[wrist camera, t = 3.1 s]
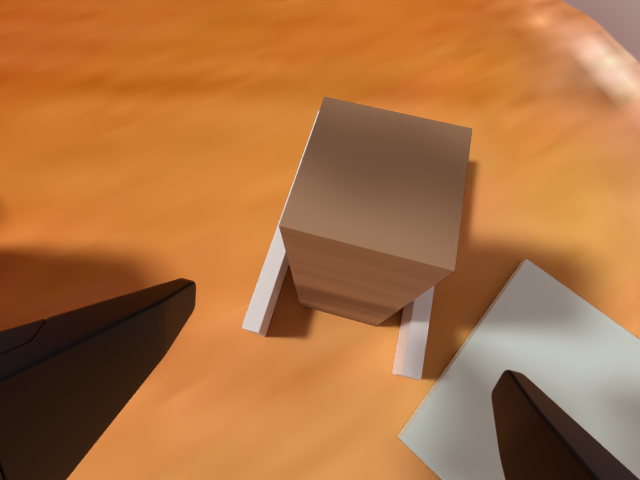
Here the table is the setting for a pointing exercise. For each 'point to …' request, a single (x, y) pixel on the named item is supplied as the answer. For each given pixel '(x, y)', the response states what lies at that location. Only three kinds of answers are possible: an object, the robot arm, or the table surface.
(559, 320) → the plate
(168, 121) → the table surface
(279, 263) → the channel
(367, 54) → the table surface
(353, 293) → the post
